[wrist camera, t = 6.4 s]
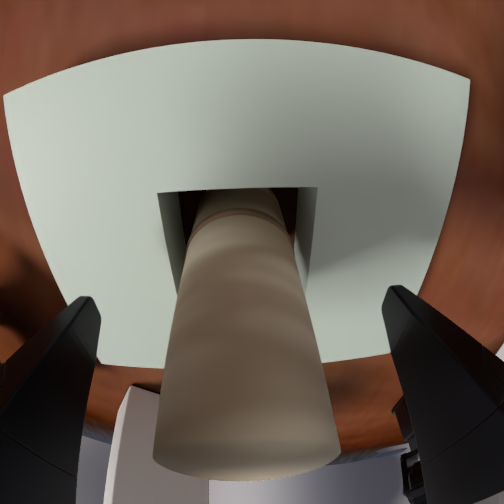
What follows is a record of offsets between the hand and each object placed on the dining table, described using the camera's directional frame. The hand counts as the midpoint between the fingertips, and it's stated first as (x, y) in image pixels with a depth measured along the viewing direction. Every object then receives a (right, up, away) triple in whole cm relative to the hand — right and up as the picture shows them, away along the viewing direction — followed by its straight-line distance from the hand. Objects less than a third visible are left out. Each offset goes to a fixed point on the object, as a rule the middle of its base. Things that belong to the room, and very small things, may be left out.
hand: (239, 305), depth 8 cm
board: (0, +3, +5) cm, 6 cm away
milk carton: (-8, -13, +15) cm, 21 cm away
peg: (0, +3, +5) cm, 6 cm away
